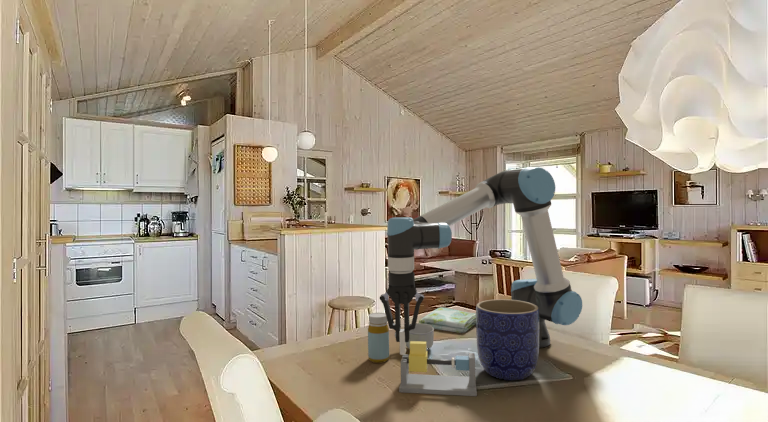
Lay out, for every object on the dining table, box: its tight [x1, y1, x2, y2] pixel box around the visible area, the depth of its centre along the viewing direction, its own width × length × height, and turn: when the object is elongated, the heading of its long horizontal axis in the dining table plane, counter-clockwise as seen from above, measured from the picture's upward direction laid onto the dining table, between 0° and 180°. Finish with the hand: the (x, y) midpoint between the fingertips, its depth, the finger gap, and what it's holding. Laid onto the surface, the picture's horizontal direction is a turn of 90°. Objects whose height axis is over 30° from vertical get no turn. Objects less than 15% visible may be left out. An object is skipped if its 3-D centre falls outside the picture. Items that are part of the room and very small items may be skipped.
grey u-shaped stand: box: [398, 352, 478, 397], centre depth 124 cm, size 21×10×9 cm, turn 81°
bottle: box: [367, 312, 390, 364], centre depth 146 cm, size 7×7×15 cm
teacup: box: [394, 322, 435, 351], centre depth 155 cm, size 14×11×8 cm
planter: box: [475, 298, 540, 381], centre depth 132 cm, size 18×18×21 cm
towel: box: [418, 307, 476, 334], centre depth 185 cm, size 18×21×5 cm
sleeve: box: [408, 341, 429, 373], centre depth 124 cm, size 5×4×8 cm
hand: (403, 352), depth 125 cm, fingers closed
